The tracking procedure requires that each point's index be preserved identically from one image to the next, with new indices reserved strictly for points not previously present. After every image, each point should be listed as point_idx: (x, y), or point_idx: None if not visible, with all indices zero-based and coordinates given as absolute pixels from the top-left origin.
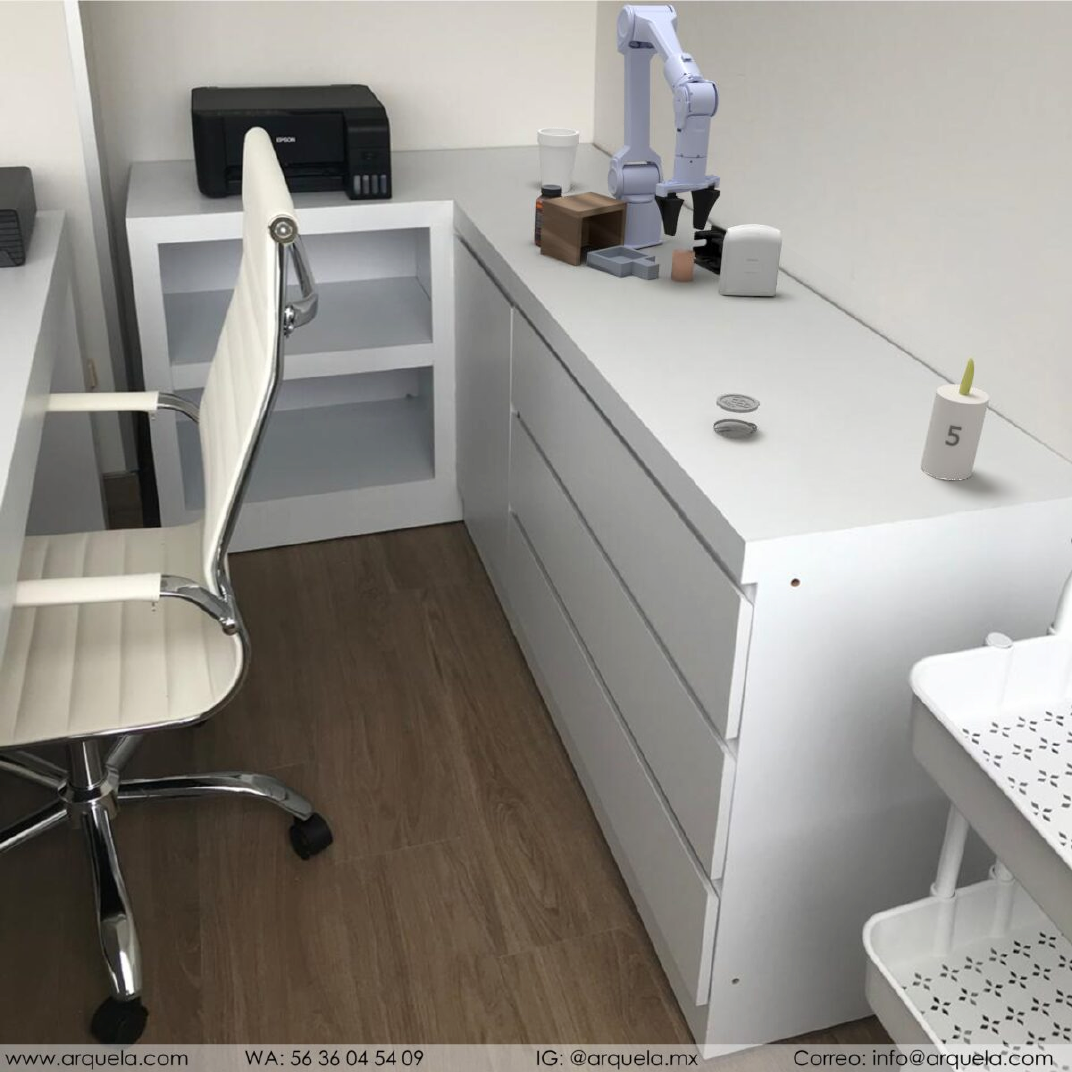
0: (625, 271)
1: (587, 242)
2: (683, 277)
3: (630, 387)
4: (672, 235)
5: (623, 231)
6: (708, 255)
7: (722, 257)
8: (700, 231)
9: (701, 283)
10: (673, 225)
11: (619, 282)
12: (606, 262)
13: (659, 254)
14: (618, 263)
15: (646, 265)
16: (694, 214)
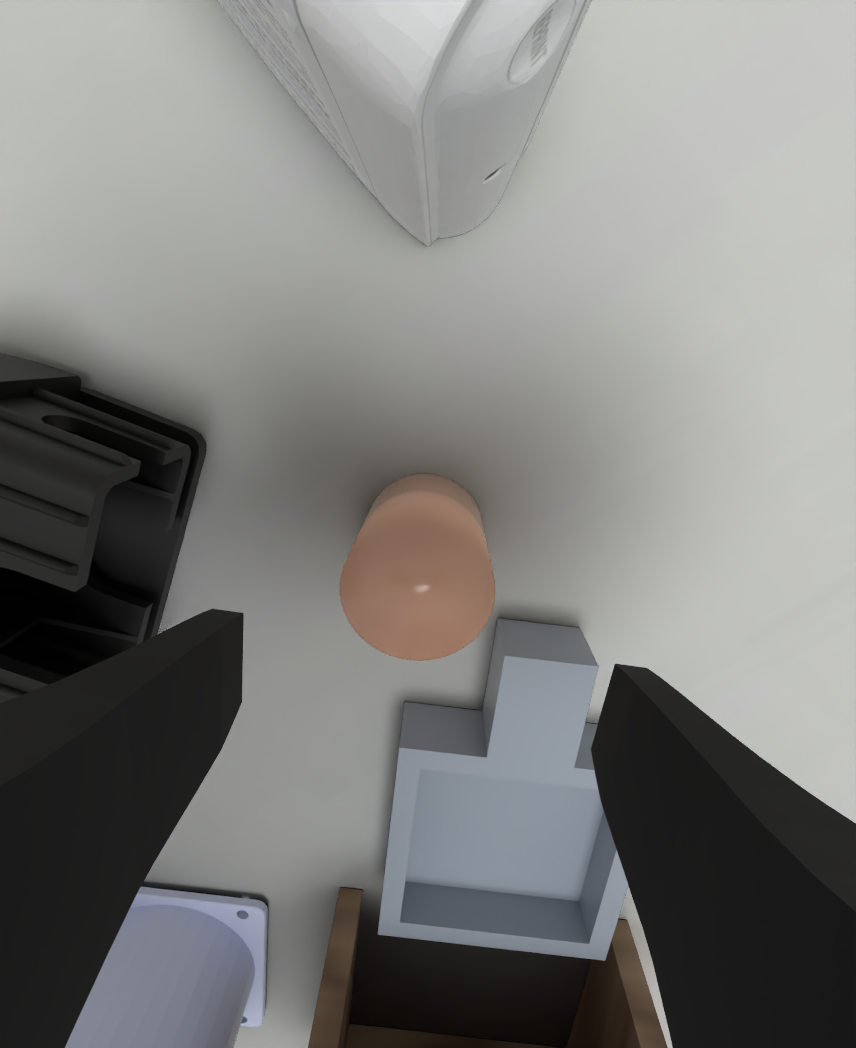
0: None
1: (350, 1037)
2: (468, 497)
3: None
4: (650, 673)
5: (328, 1012)
6: (77, 605)
7: (527, 124)
8: None
9: (411, 405)
10: (722, 732)
11: (706, 691)
12: None
13: (196, 805)
14: None
15: (586, 685)
16: (174, 808)
